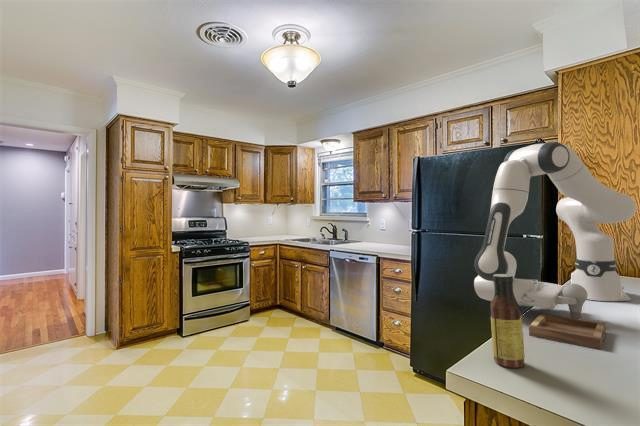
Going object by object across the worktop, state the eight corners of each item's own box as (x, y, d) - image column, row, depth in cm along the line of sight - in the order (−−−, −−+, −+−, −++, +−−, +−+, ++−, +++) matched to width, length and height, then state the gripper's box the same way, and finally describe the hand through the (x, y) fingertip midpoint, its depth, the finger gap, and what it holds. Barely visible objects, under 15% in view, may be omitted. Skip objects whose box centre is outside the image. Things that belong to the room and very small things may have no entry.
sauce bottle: (531, 366, 74) (528, 276, 74) (509, 371, 72) (505, 278, 72) (507, 355, 80) (504, 271, 80) (485, 359, 78) (482, 274, 78)
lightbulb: (593, 323, 99) (591, 285, 99) (569, 322, 100) (568, 285, 101) (581, 317, 105) (580, 282, 105) (559, 316, 106) (558, 281, 107)
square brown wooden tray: (541, 321, 103) (541, 313, 103) (605, 332, 92) (605, 322, 92) (529, 335, 92) (528, 326, 92) (600, 349, 81) (599, 338, 81)
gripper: (517, 289, 104) (572, 295, 95) (533, 278, 119) (582, 282, 109) (518, 309, 104) (573, 317, 95) (534, 296, 119) (583, 302, 109)
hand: (578, 299), depth 102 cm, fingers closed on lightbulb, 5 cm apart
